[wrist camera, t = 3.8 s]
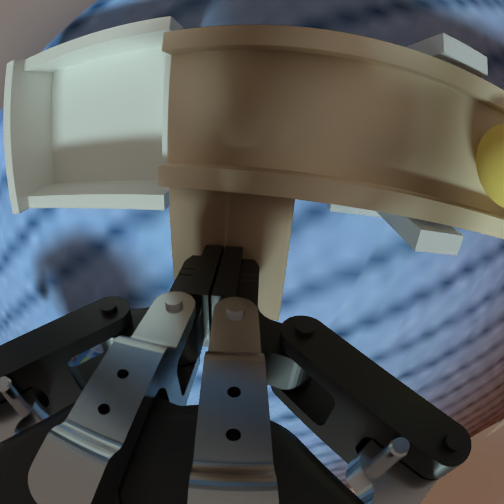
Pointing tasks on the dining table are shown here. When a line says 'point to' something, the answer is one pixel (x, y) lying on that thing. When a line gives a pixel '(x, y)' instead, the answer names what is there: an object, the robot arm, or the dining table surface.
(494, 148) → the ball
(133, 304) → the dining table surface
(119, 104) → the tray
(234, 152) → the lever
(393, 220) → the stand
